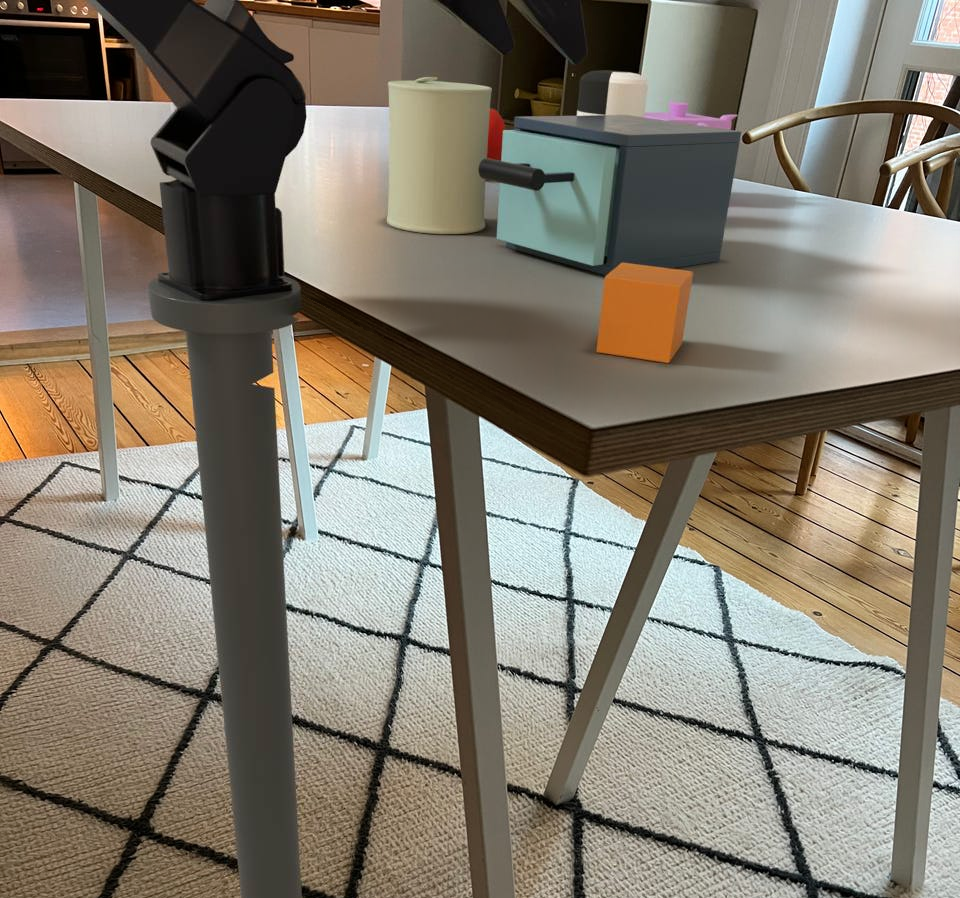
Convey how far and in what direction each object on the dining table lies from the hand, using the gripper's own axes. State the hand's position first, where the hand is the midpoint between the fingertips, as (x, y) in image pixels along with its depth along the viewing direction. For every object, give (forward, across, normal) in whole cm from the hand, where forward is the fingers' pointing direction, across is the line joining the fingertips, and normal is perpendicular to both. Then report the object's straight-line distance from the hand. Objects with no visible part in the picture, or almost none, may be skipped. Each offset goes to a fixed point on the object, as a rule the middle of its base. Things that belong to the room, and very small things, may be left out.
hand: (543, 55), depth 68 cm
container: (+26, +24, -8) cm, 37 cm away
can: (+14, +23, +6) cm, 28 cm away
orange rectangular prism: (+10, -17, +11) cm, 23 cm away
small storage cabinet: (+20, +8, -1) cm, 21 cm away
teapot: (+36, +35, -21) cm, 55 cm away
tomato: (+26, +53, -8) cm, 59 cm away
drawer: (+16, +7, +2) cm, 18 cm away
